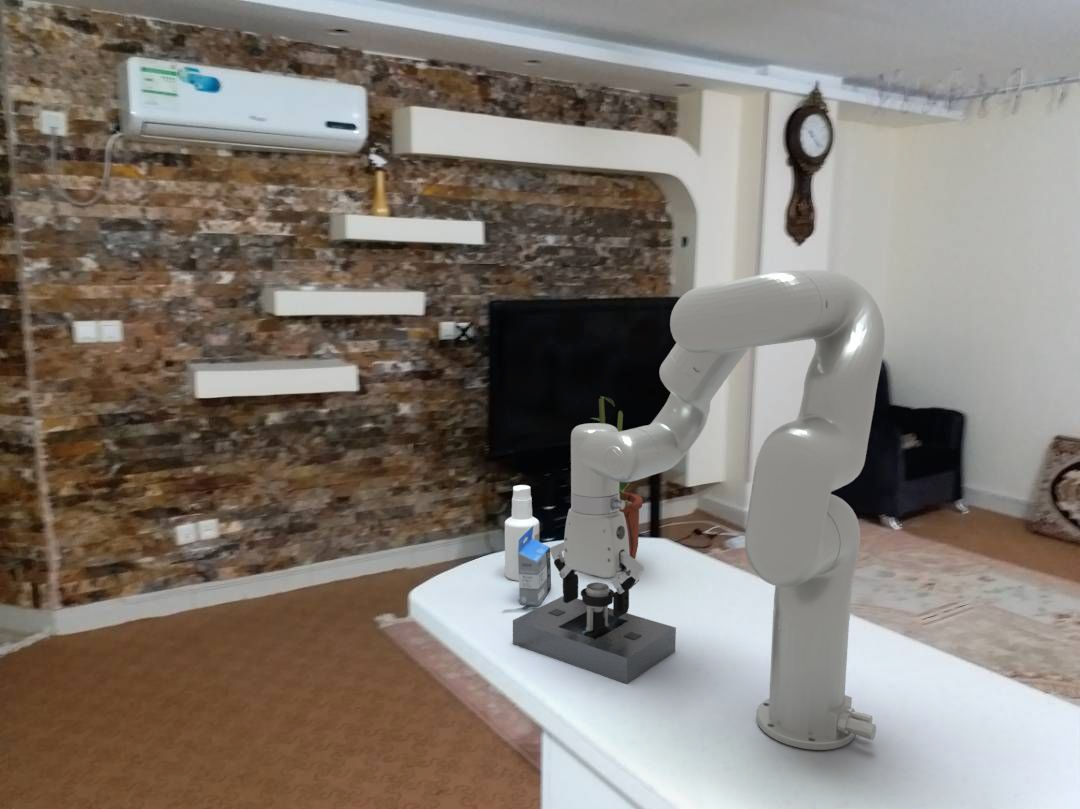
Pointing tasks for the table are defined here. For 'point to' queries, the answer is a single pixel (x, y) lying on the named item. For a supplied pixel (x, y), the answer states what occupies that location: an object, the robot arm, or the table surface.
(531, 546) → the label tape box
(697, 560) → the table surface
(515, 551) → the spray bottle
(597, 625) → the push button
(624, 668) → the gray pocketed block
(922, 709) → the table surface
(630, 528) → the potted plant
